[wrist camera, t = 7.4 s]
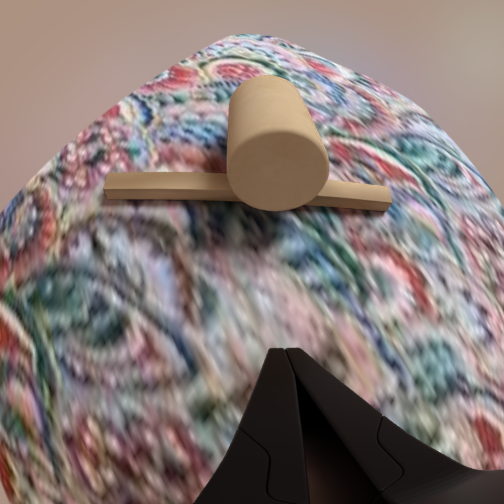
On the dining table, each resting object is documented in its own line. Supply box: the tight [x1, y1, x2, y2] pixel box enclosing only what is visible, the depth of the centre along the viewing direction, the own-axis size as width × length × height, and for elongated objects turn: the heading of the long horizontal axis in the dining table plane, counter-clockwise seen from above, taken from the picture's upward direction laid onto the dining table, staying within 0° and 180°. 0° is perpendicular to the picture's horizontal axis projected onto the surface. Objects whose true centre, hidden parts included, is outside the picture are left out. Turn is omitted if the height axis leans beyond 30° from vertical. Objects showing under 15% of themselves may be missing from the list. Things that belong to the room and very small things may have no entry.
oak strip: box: [103, 172, 392, 212], centre depth 21 cm, size 1×20×1 cm, turn 90°
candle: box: [227, 75, 329, 211], centre depth 19 cm, size 6×6×10 cm
